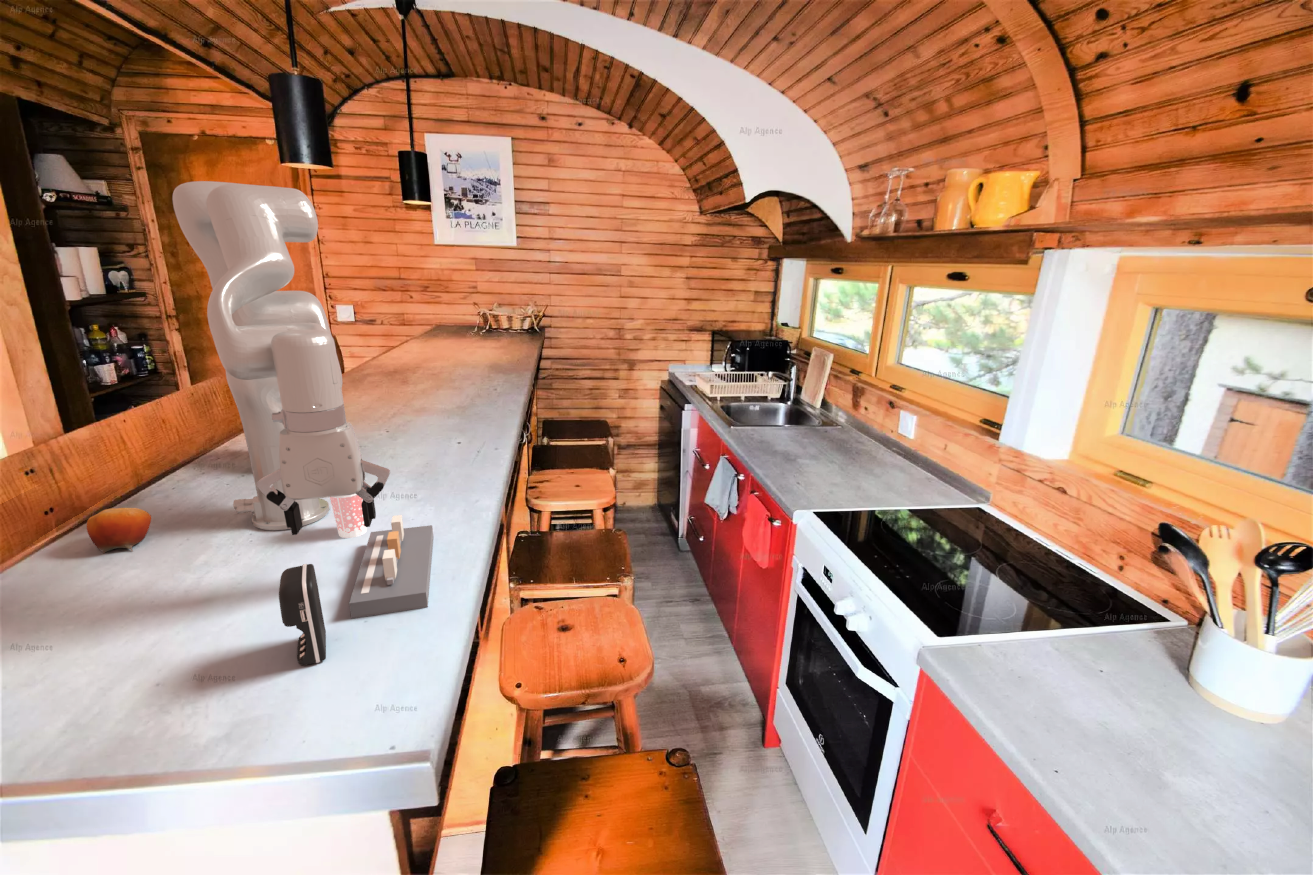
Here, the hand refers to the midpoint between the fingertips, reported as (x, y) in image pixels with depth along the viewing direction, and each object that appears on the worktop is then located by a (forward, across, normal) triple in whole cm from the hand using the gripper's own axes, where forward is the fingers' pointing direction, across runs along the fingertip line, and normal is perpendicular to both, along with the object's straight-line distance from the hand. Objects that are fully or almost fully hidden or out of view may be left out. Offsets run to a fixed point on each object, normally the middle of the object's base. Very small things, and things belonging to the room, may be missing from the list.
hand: (333, 526), depth 87 cm
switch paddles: (+6, +8, 0) cm, 10 cm away
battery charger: (+10, -1, -17) cm, 20 cm away
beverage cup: (+10, -1, +17) cm, 20 cm away
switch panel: (+9, +8, 0) cm, 12 cm away
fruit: (+10, -37, +22) cm, 44 cm away
